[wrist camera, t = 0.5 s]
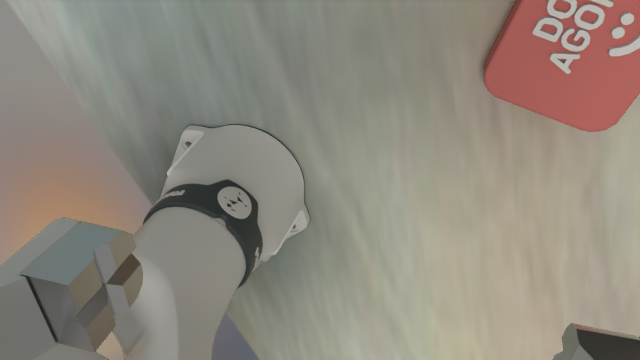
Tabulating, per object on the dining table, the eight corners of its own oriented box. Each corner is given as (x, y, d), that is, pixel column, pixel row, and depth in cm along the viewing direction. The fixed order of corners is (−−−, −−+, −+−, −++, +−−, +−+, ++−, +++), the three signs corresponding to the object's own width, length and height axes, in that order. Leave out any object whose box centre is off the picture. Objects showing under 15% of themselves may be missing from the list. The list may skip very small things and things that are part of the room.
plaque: (637, 154, 43) (475, 92, 44) (627, 134, 46) (476, 77, 47) (811, -61, 33) (593, -135, 34) (783, -68, 36) (584, -136, 37)
